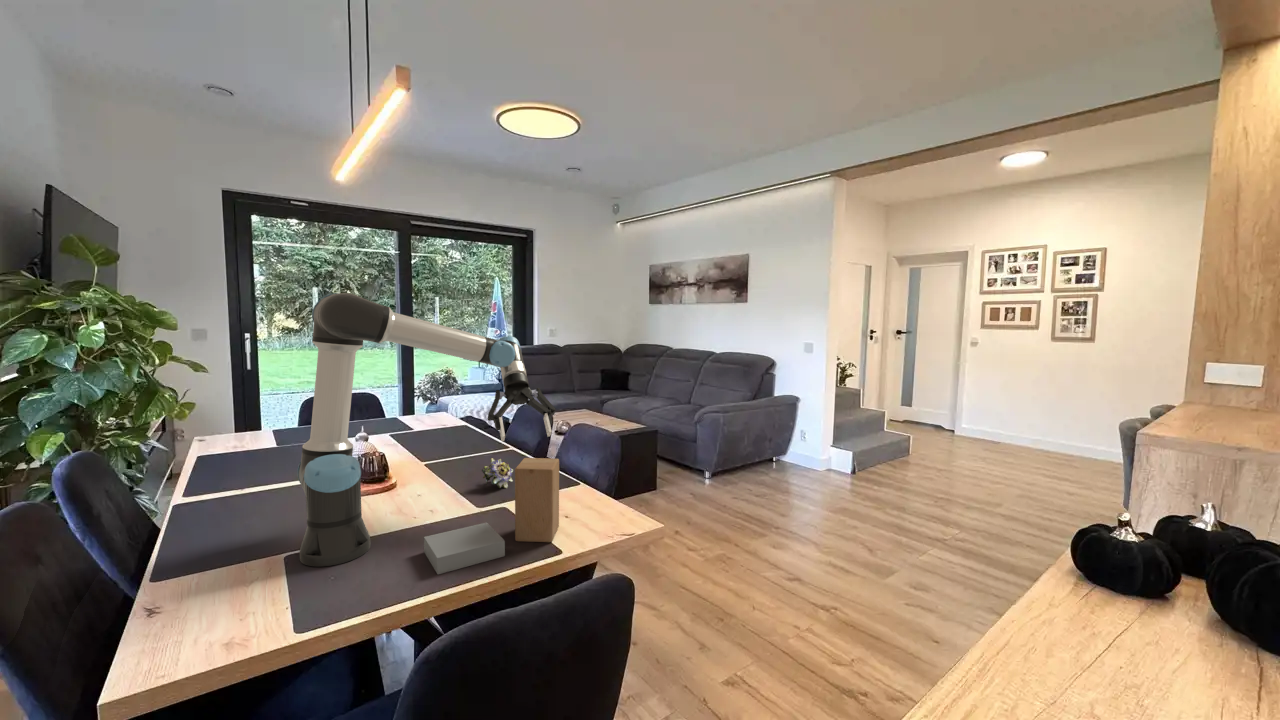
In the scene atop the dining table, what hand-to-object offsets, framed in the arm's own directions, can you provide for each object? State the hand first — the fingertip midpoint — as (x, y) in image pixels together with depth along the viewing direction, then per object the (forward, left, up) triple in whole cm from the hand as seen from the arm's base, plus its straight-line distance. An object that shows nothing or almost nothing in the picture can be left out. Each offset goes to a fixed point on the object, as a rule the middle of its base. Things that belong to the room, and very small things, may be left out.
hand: (527, 436), depth 147 cm
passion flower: (+2, +30, -25) cm, 39 cm away
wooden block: (-2, -13, -24) cm, 28 cm away
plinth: (-22, -13, -24) cm, 35 cm away
